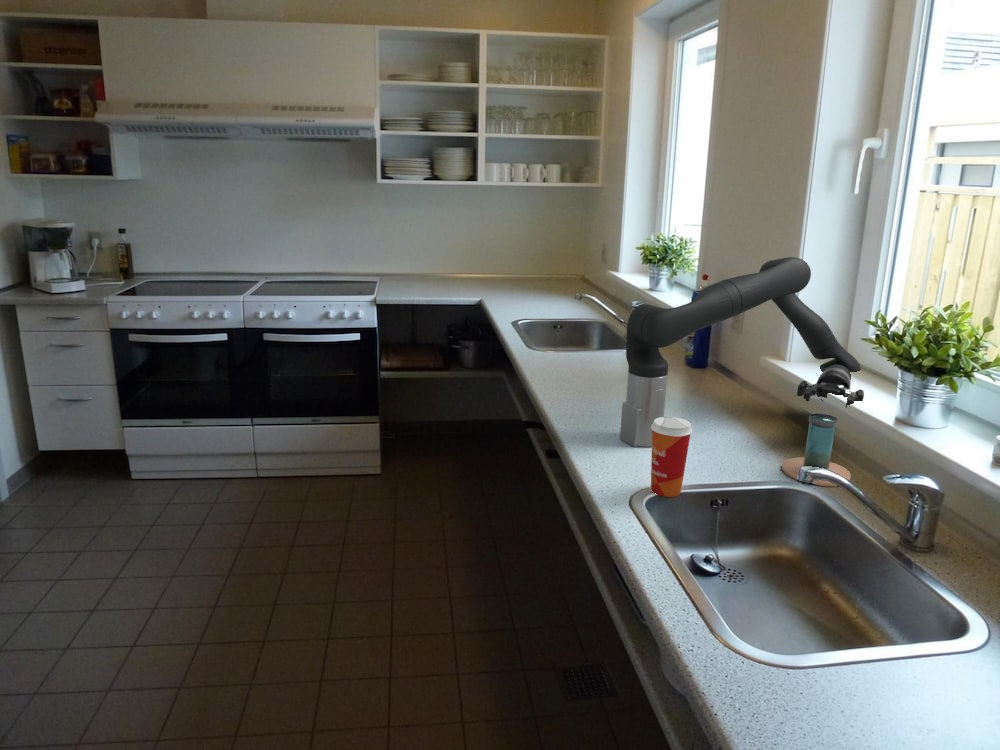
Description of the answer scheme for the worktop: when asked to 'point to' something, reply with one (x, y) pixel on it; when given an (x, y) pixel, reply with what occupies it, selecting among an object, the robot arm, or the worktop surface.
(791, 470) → the dish
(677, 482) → the coffee cup
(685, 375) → the worktop surface
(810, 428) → the canister
